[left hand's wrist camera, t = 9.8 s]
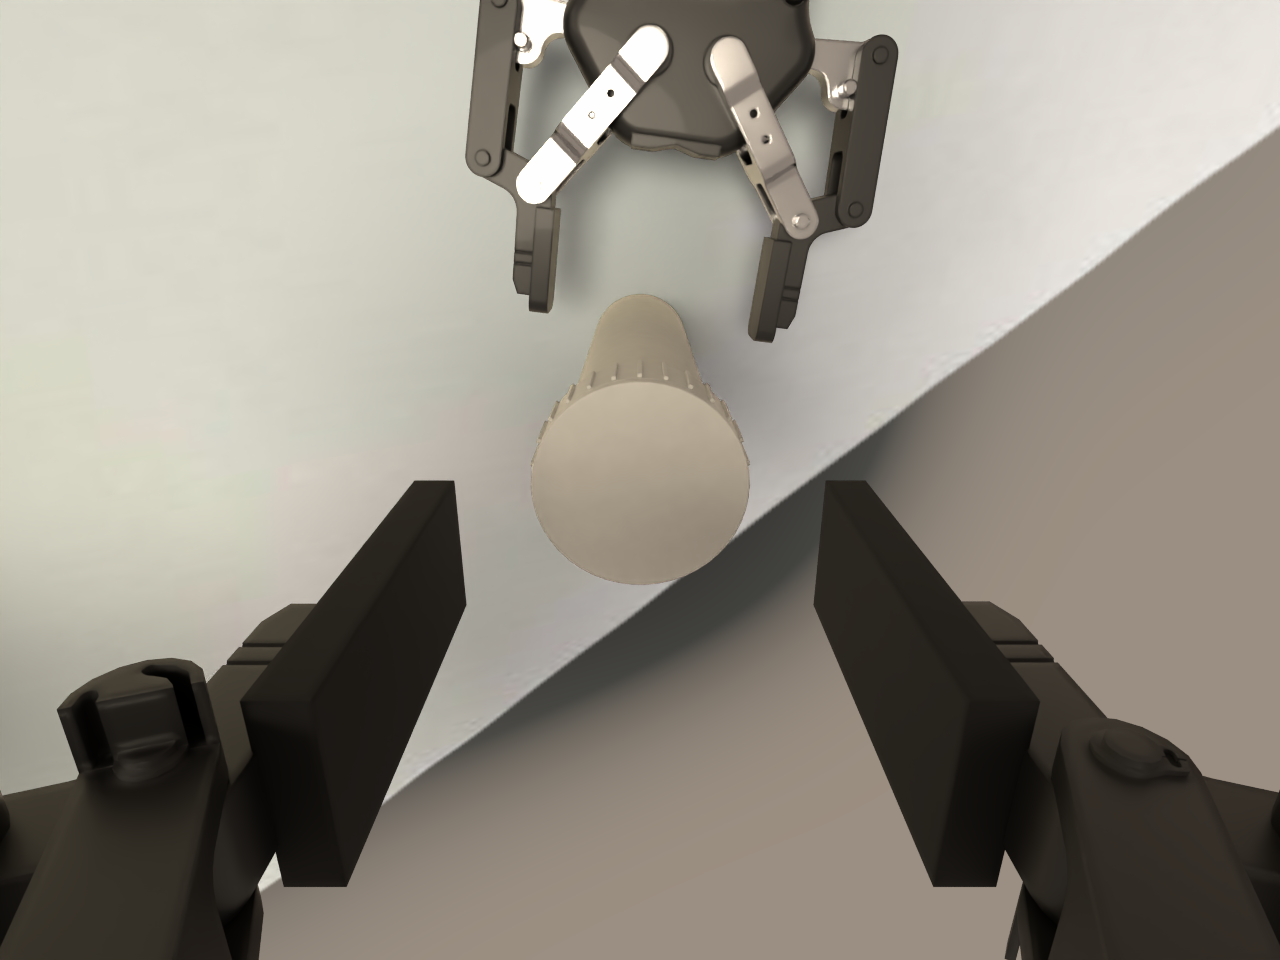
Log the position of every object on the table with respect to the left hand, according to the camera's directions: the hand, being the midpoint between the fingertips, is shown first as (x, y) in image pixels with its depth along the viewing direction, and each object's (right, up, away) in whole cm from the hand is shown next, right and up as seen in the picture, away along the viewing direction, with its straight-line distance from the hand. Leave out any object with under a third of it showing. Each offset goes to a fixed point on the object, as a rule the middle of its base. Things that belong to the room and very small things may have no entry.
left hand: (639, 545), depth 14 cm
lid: (0, +1, +3) cm, 3 cm away
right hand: (0, +7, +14) cm, 16 cm away
